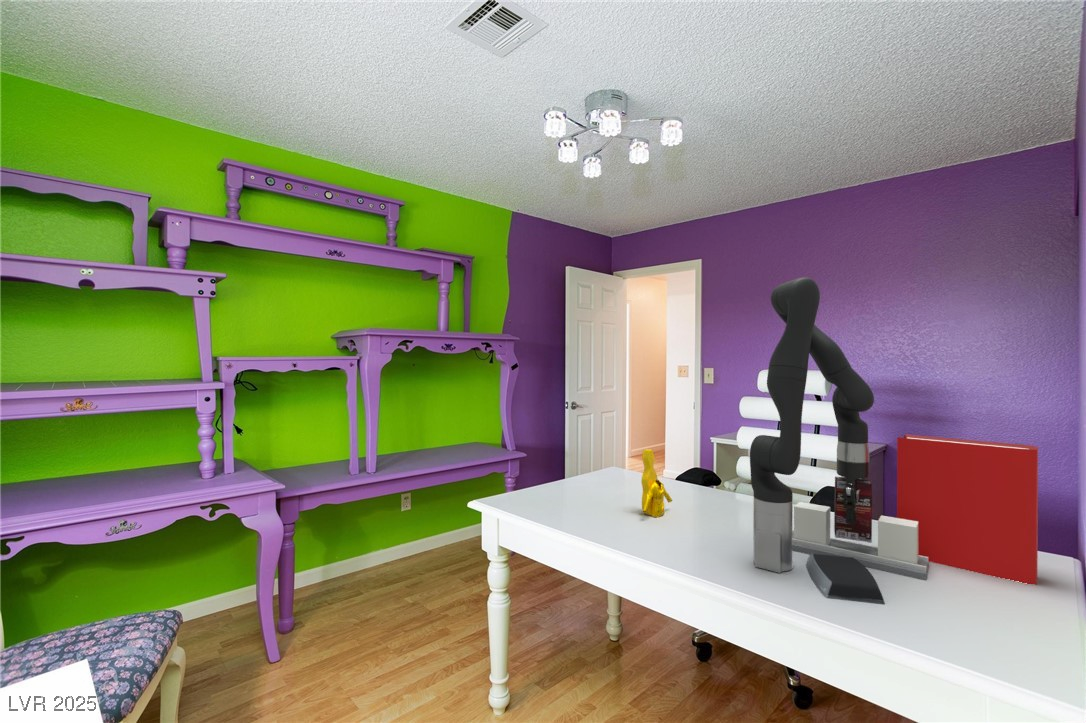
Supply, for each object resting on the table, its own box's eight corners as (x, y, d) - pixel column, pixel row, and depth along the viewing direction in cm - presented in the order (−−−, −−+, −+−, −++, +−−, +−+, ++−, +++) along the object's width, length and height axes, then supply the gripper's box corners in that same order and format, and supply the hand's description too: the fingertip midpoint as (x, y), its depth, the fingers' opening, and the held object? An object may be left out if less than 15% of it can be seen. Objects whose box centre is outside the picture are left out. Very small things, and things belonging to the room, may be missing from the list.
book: (896, 554, 139) (897, 437, 138) (903, 546, 144) (904, 434, 144) (1036, 586, 119) (1036, 450, 119) (1037, 576, 124) (1038, 446, 124)
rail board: (925, 580, 122) (925, 532, 122) (783, 548, 143) (783, 507, 143) (928, 564, 131) (928, 520, 131) (794, 536, 152) (794, 498, 152)
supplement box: (834, 538, 137) (834, 479, 137) (834, 532, 141) (834, 475, 141) (872, 543, 133) (872, 483, 133) (870, 537, 137) (870, 479, 137)
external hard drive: (822, 599, 113) (822, 581, 113) (802, 565, 132) (802, 549, 132) (888, 607, 110) (889, 588, 110) (859, 571, 129) (859, 555, 129)
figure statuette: (649, 522, 165) (649, 455, 165) (629, 517, 171) (629, 452, 170) (676, 510, 178) (677, 448, 178) (657, 506, 183) (657, 445, 183)
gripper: (865, 464, 129) (865, 531, 129) (872, 456, 140) (872, 517, 140) (831, 461, 134) (831, 525, 134) (841, 452, 145) (841, 511, 145)
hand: (852, 520), depth 137 cm, fingers closed on supplement box, 5 cm apart
